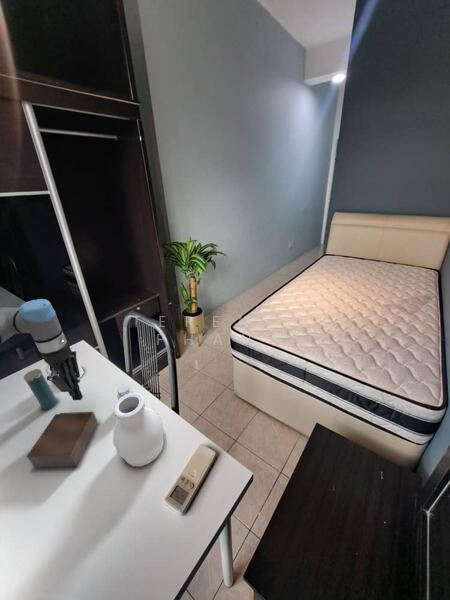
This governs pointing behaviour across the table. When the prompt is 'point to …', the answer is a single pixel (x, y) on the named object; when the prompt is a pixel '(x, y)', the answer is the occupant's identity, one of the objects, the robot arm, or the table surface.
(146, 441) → the vase
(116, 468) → the table surface
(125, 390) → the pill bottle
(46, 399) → the tin
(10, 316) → the robot arm
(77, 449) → the drawer cabinet
